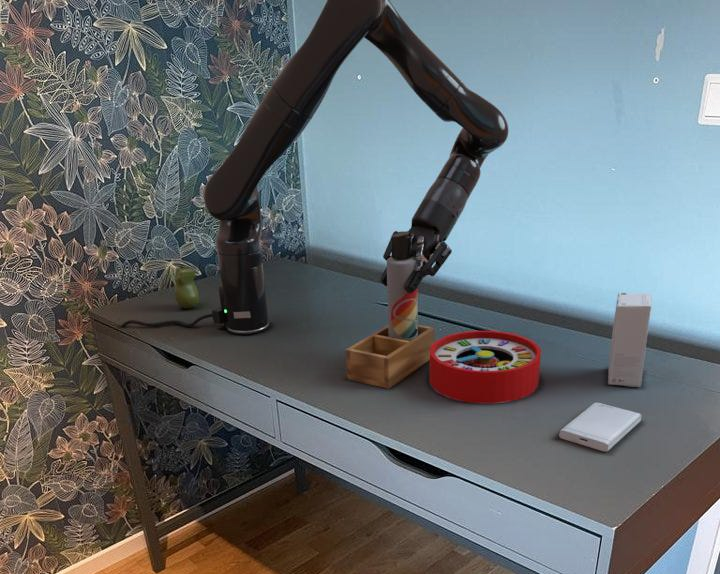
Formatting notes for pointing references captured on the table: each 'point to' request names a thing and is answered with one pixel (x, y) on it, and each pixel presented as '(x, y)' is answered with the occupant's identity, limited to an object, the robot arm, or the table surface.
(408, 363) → the wooden organizer box
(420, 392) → the table surface
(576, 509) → the table surface
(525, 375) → the toy clock
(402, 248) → the lotion bottle
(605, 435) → the hard drive
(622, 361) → the cosmetic box
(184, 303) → the pear
